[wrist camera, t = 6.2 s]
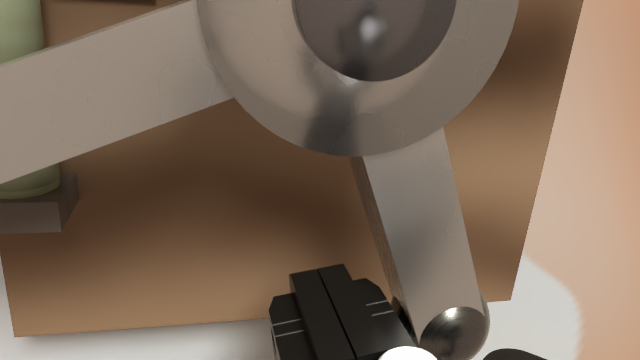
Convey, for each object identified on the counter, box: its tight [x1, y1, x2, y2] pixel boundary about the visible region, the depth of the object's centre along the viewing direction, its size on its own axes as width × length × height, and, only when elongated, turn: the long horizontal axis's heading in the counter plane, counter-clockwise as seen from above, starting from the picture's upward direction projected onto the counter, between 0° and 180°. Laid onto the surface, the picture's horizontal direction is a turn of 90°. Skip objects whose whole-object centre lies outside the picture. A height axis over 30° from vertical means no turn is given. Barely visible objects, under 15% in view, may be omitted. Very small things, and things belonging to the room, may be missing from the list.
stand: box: [0, 0, 583, 337], centre depth 14 cm, size 19×17×4 cm
